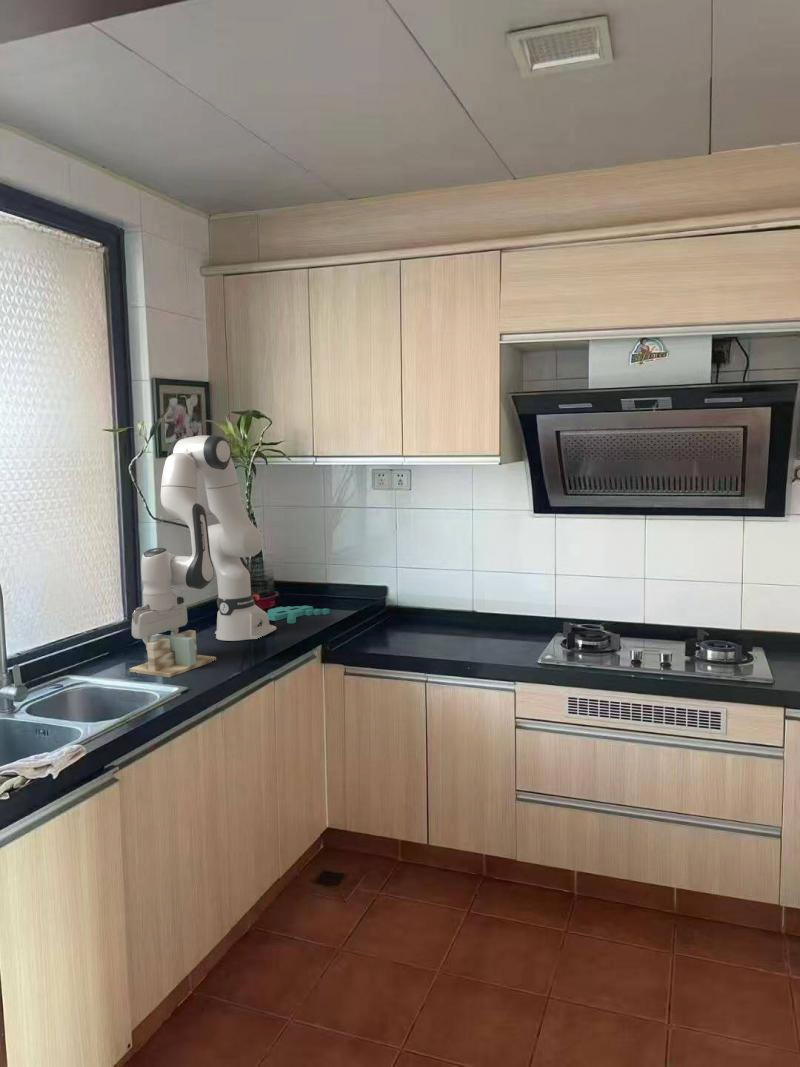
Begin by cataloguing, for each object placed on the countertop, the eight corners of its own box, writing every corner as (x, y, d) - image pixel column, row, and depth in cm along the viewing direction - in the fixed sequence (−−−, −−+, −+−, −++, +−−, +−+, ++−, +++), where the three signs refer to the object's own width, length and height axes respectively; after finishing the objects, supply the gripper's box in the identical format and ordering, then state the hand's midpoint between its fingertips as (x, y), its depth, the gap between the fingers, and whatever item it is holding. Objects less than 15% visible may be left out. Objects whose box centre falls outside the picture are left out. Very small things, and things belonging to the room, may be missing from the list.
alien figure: (329, 614, 324) (293, 609, 336) (329, 609, 323) (293, 603, 336) (291, 624, 308) (255, 618, 321) (291, 618, 308) (254, 613, 321)
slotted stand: (177, 655, 268) (175, 627, 267) (216, 660, 261) (214, 631, 260) (129, 671, 251) (127, 642, 250) (169, 677, 243) (167, 647, 242)
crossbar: (196, 664, 253) (194, 638, 252) (190, 666, 251) (188, 640, 250) (156, 658, 261) (155, 633, 260) (150, 660, 259) (149, 635, 258)
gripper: (140, 609, 245) (143, 655, 247) (189, 596, 263) (192, 639, 265) (124, 608, 248) (128, 653, 250) (174, 595, 266) (177, 638, 268)
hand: (161, 646), depth 257 cm, fingers open, 8 cm apart
